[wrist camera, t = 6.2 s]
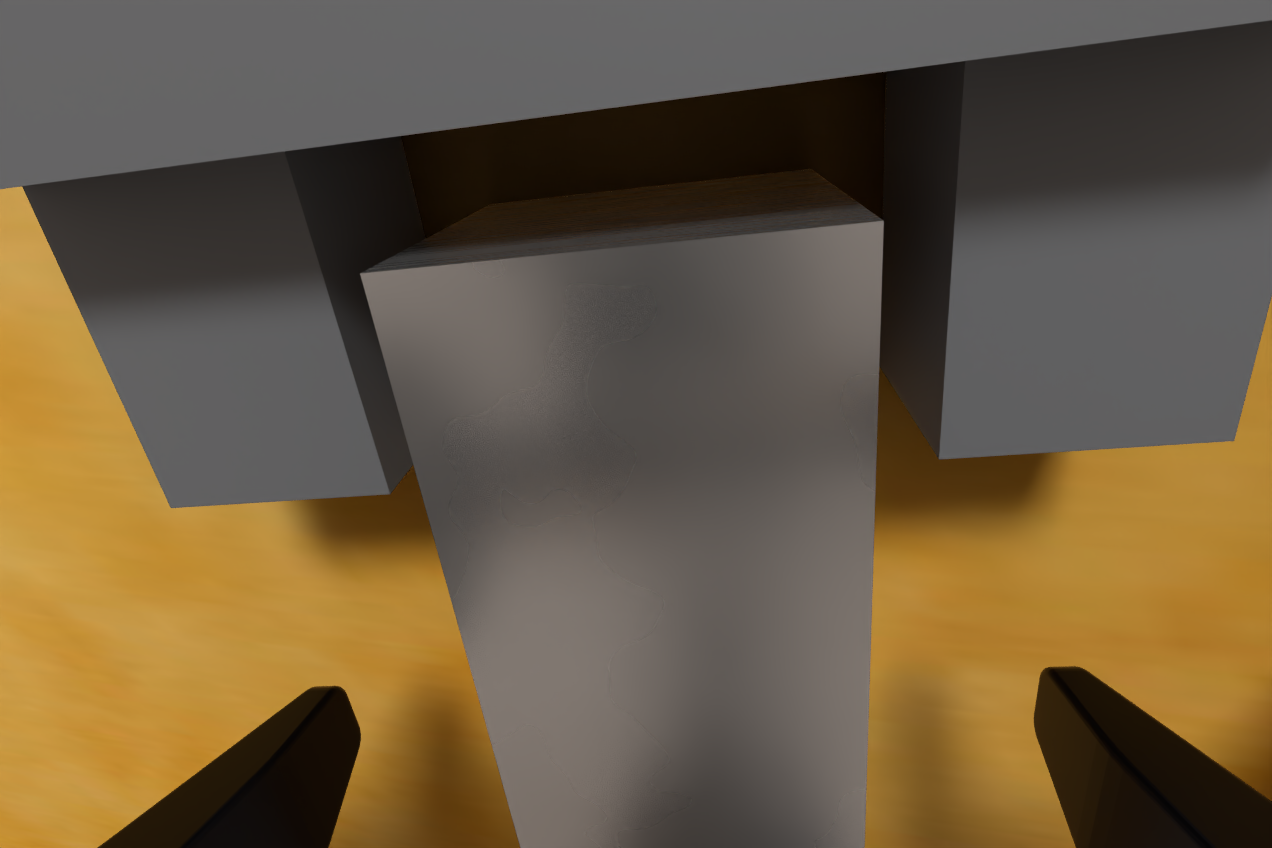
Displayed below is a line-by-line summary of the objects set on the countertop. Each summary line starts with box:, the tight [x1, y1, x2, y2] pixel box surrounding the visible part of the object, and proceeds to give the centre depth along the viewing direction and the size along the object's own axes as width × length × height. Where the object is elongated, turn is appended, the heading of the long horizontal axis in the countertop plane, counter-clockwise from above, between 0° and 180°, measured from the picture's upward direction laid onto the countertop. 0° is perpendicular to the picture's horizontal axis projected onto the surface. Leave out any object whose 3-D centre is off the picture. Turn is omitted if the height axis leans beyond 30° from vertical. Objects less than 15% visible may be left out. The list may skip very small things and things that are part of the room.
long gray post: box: [360, 169, 884, 848], centre depth 10 cm, size 12×4×4 cm, turn 7°
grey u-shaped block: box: [0, 0, 1272, 508], centre depth 8 cm, size 6×12×4 cm, turn 97°
